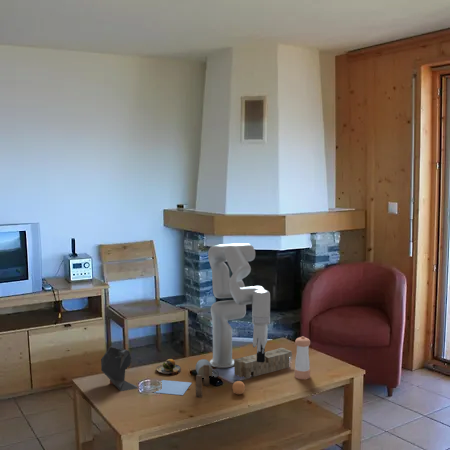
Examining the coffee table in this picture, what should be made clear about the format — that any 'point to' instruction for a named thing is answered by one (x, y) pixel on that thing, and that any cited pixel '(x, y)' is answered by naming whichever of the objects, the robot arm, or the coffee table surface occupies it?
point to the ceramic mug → (201, 372)
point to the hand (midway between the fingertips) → (260, 361)
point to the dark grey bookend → (117, 367)
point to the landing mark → (174, 387)
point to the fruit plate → (169, 367)
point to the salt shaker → (302, 358)
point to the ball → (238, 387)
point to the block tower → (272, 363)
